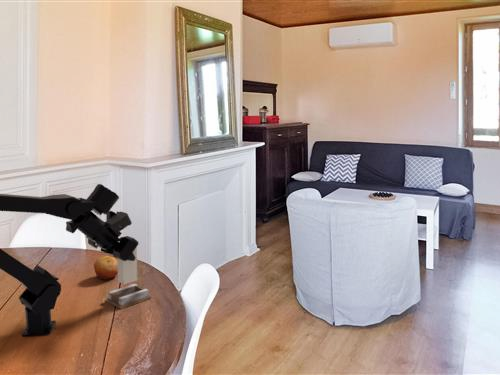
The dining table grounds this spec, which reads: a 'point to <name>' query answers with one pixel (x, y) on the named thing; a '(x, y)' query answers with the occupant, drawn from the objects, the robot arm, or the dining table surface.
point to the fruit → (106, 267)
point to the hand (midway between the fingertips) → (131, 258)
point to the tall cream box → (127, 270)
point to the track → (128, 296)
